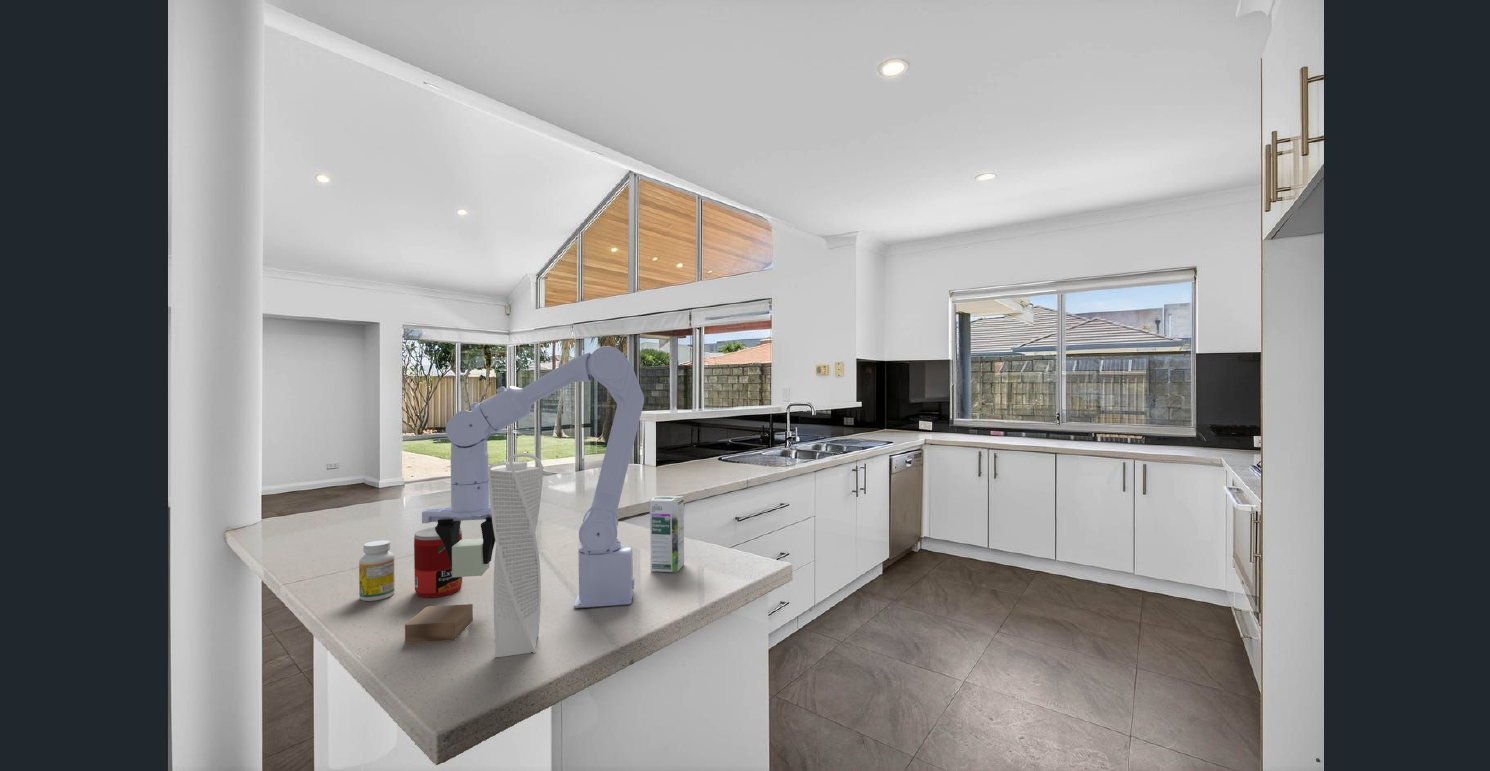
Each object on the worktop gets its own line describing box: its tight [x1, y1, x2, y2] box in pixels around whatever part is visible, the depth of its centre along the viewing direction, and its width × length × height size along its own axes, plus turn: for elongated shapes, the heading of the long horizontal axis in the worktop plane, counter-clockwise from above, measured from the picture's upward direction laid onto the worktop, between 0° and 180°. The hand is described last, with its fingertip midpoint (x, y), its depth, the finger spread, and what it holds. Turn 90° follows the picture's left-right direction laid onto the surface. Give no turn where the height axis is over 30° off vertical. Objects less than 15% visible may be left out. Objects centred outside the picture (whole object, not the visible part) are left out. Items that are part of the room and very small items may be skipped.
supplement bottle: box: [358, 539, 396, 602], centre depth 102 cm, size 5×5×10 cm
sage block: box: [452, 537, 490, 578], centre depth 95 cm, size 4×4×5 cm
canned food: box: [413, 526, 463, 599], centre depth 104 cm, size 8×8×11 cm
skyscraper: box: [488, 452, 544, 658], centre depth 81 cm, size 8×8×28 cm
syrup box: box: [649, 495, 685, 573], centre depth 116 cm, size 6×6×14 cm
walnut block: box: [404, 603, 474, 644], centre depth 86 cm, size 7×7×3 cm
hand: (471, 563), depth 95 cm, fingers closed on sage block, 4 cm apart
